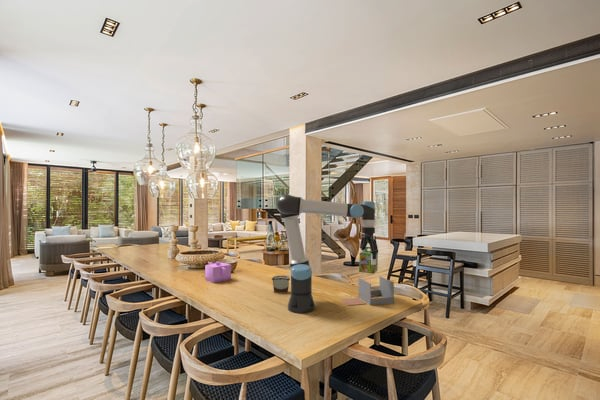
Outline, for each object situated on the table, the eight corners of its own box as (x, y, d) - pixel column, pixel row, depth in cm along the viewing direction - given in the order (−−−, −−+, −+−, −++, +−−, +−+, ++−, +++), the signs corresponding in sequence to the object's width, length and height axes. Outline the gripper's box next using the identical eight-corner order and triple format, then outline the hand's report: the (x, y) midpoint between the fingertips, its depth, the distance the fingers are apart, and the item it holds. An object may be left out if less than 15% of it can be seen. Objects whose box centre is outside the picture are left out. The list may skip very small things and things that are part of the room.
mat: (348, 305, 170) (348, 305, 170) (341, 299, 181) (341, 299, 181) (366, 304, 173) (366, 303, 173) (358, 298, 184) (358, 297, 184)
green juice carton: (358, 272, 178) (359, 247, 178) (363, 269, 186) (363, 245, 186) (374, 274, 174) (374, 248, 174) (377, 271, 182) (378, 246, 182)
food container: (291, 290, 203) (291, 275, 203) (290, 292, 197) (290, 277, 197) (273, 289, 204) (273, 275, 204) (271, 292, 198) (271, 277, 198)
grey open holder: (370, 305, 171) (370, 284, 171) (358, 297, 186) (358, 277, 187) (394, 303, 174) (393, 282, 175) (380, 295, 190) (380, 276, 190)
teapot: (218, 275, 249) (218, 258, 250) (234, 280, 231) (234, 262, 231) (201, 278, 239) (201, 261, 239) (216, 284, 221) (216, 265, 221)
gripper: (384, 228, 169) (384, 266, 169) (365, 225, 193) (365, 258, 193) (372, 228, 168) (372, 266, 167) (354, 225, 191) (354, 259, 191)
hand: (368, 262), depth 180 cm, fingers closed on green juice carton, 12 cm apart
